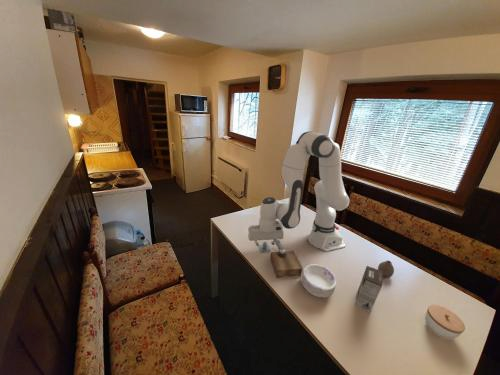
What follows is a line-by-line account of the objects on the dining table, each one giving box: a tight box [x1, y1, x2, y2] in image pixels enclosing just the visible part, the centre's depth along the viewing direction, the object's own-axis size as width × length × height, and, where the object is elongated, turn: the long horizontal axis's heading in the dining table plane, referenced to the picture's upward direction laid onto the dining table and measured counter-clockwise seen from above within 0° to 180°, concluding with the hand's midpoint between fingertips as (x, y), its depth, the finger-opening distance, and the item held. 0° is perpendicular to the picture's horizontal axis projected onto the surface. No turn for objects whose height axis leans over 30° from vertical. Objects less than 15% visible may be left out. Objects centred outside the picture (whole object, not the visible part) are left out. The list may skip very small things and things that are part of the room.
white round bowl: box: [300, 263, 338, 298], centre depth 95 cm, size 15×15×8 cm
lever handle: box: [274, 239, 287, 256], centre depth 111 cm, size 10×3×3 cm, turn 15°
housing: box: [269, 250, 303, 279], centre depth 106 cm, size 13×13×5 cm
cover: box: [258, 241, 272, 253], centre depth 119 cm, size 6×6×4 cm
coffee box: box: [355, 265, 384, 313], centre depth 88 cm, size 9×6×16 cm
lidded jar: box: [424, 304, 466, 340], centre depth 79 cm, size 11×11×9 cm
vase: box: [377, 260, 395, 279], centre depth 104 cm, size 7×7×9 cm
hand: (264, 244), depth 118 cm, fingers open, 8 cm apart
